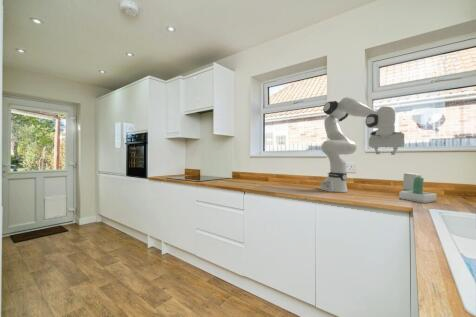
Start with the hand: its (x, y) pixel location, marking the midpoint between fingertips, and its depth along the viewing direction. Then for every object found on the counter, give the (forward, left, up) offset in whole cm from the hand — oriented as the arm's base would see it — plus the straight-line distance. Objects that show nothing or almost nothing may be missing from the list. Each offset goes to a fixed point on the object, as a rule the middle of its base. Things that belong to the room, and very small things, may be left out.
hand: (385, 154), depth 142 cm
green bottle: (+8, +22, -28) cm, 36 cm away
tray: (+8, +22, -29) cm, 37 cm away
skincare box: (-3, +35, -29) cm, 46 cm away
